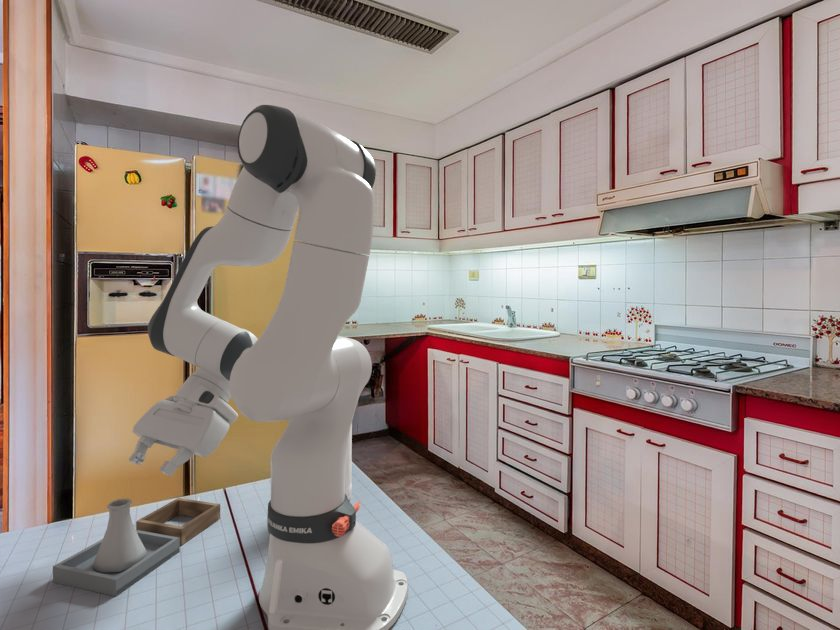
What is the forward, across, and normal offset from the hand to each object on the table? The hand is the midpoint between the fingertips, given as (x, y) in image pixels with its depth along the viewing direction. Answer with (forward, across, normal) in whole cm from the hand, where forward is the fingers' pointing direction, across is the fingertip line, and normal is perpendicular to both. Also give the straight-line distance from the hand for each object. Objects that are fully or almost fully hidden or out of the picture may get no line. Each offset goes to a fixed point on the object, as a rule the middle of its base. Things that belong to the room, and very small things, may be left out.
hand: (148, 468), depth 78 cm
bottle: (-12, +14, +34) cm, 39 cm away
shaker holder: (+5, -4, +16) cm, 17 cm away
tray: (+14, 0, +7) cm, 16 cm away
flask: (+14, 0, +7) cm, 15 cm away
